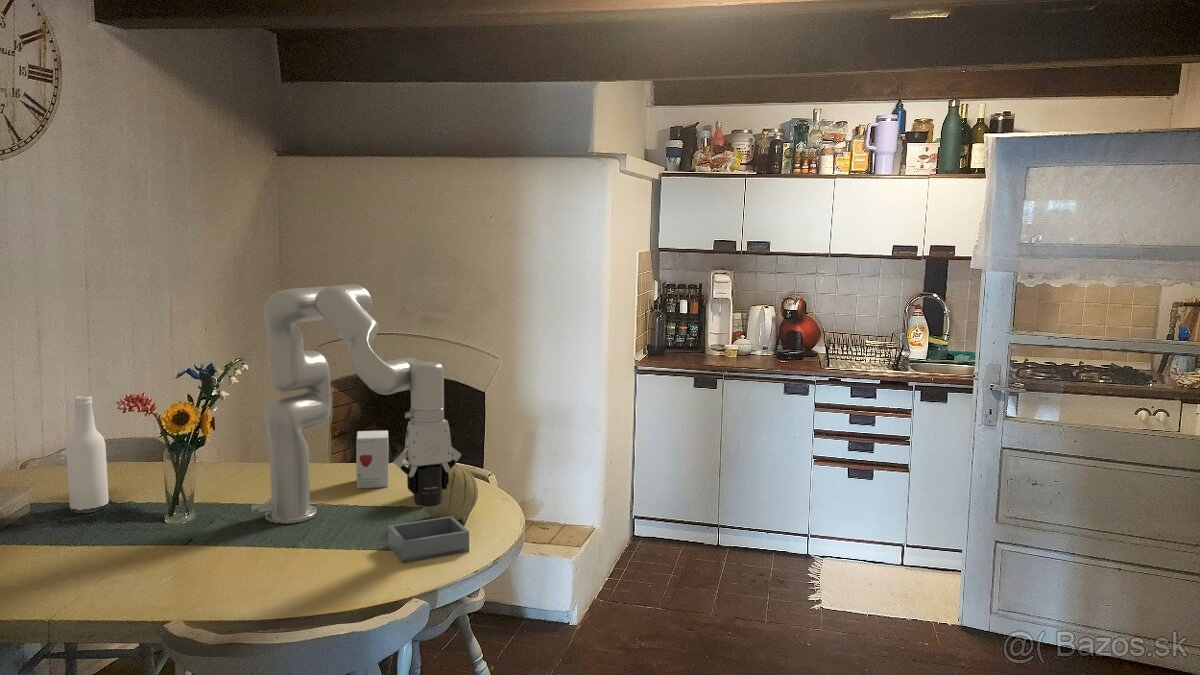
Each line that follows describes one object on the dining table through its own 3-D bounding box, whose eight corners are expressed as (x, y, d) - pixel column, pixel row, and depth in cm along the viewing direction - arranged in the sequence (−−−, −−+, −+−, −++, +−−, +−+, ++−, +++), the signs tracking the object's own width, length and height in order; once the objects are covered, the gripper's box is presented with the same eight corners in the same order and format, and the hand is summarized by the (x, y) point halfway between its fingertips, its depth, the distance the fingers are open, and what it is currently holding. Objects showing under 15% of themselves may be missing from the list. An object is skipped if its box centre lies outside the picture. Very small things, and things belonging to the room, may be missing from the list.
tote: (402, 563, 196) (402, 542, 196) (388, 545, 207) (387, 525, 206) (469, 552, 204) (469, 531, 203) (452, 535, 214) (452, 515, 214)
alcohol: (75, 504, 231) (68, 394, 227) (112, 502, 233) (106, 392, 229) (66, 515, 222) (58, 401, 218) (104, 512, 225) (98, 399, 221)
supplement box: (356, 489, 249) (355, 438, 247) (357, 479, 258) (356, 430, 256) (388, 487, 251) (388, 437, 249) (388, 478, 260) (388, 429, 258)
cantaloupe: (418, 530, 217) (418, 472, 215) (421, 511, 232) (421, 456, 229) (478, 528, 219) (478, 471, 217) (477, 509, 234) (477, 455, 232)
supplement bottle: (428, 509, 199) (428, 458, 198) (407, 503, 203) (406, 453, 201) (449, 501, 205) (448, 452, 203) (427, 496, 209) (427, 447, 207)
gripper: (395, 422, 194) (396, 499, 196) (468, 415, 202) (468, 489, 204) (386, 415, 200) (387, 490, 203) (457, 409, 209) (458, 480, 211)
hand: (428, 489), depth 203 cm, fingers closed on supplement bottle, 6 cm apart
